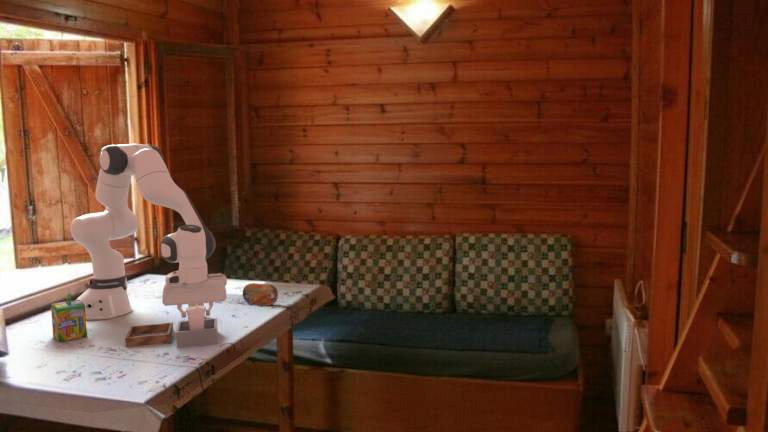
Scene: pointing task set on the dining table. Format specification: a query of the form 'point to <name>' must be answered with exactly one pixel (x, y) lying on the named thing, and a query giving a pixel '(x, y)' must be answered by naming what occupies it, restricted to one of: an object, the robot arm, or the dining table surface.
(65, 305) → the chalk box
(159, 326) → the frame
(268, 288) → the tin
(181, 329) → the bin
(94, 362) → the dining table surface
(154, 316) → the dining table surface
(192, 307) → the smoothie
